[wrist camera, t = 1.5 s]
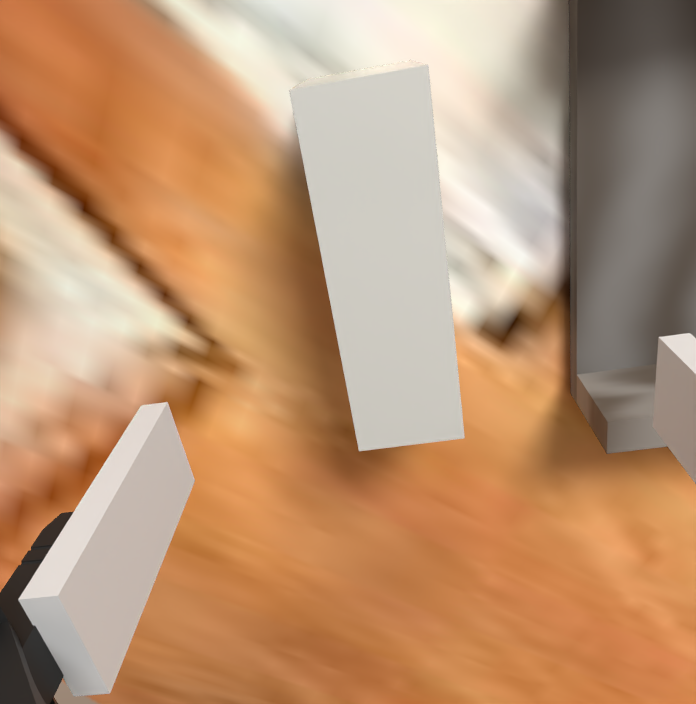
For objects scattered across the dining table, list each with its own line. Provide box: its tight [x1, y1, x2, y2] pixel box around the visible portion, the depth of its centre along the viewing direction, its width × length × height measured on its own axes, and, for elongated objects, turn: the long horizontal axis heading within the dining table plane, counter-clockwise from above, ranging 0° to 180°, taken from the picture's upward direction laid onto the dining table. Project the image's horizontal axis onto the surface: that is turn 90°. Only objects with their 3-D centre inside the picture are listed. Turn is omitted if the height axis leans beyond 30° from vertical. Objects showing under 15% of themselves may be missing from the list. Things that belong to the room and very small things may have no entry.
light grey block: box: [289, 60, 465, 451], centre depth 29 cm, size 5×16×9 cm, turn 9°
